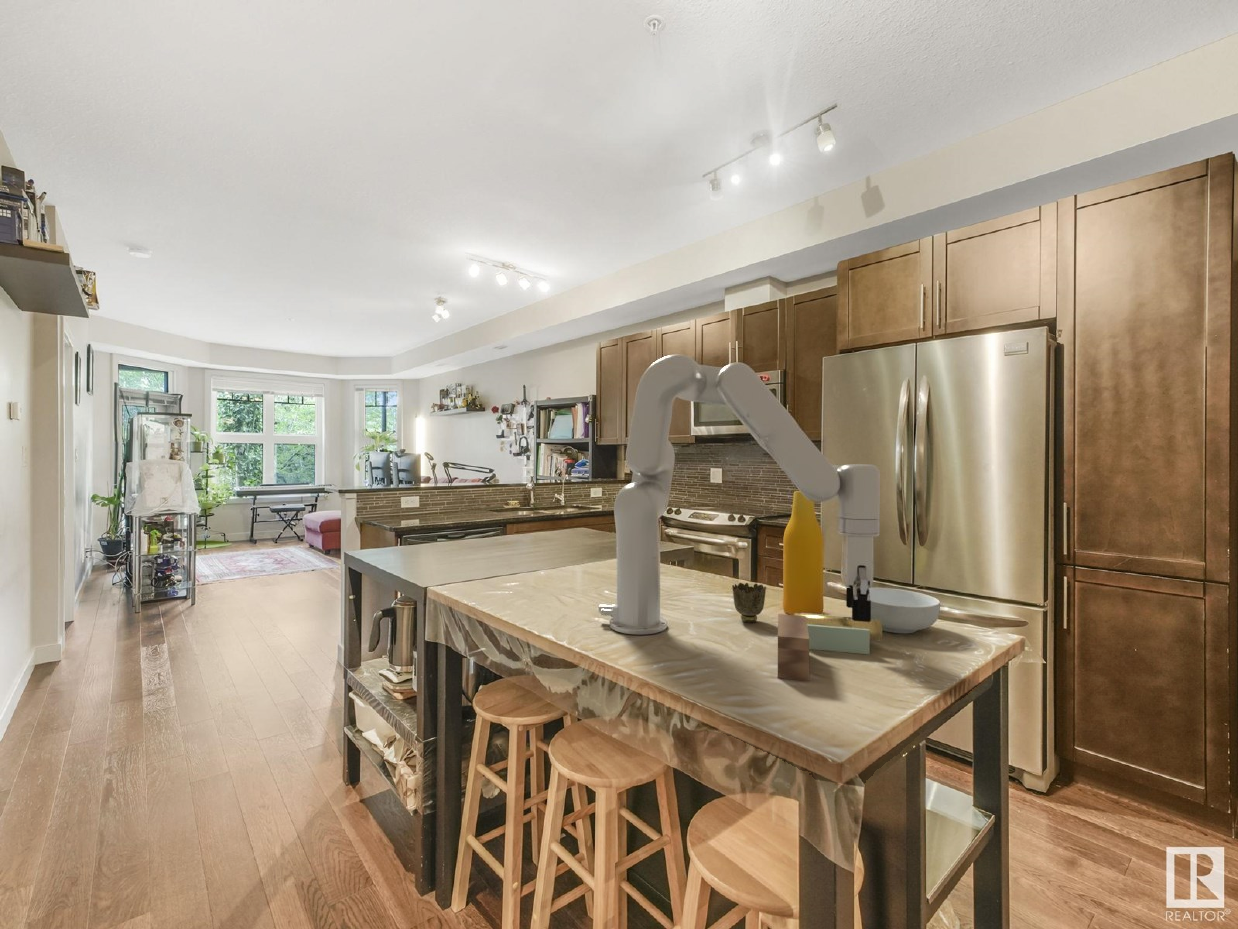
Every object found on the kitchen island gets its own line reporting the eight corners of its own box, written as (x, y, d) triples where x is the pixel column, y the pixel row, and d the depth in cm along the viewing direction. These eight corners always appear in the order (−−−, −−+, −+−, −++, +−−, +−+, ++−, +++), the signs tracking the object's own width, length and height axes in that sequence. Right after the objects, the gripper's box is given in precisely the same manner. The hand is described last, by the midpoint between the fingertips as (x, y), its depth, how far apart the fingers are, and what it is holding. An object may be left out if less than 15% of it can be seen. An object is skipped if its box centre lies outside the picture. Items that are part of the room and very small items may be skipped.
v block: (802, 648, 109) (802, 625, 109) (800, 634, 117) (800, 612, 117) (869, 654, 105) (869, 630, 105) (862, 639, 114) (862, 617, 114)
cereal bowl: (912, 646, 110) (912, 610, 110) (838, 625, 124) (838, 593, 124) (955, 631, 120) (955, 598, 119) (882, 613, 133) (882, 583, 133)
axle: (794, 636, 112) (794, 617, 111) (794, 628, 116) (794, 610, 115) (881, 644, 107) (882, 624, 107) (878, 635, 111) (879, 616, 111)
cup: (729, 623, 125) (729, 588, 125) (735, 615, 131) (735, 581, 131) (763, 627, 122) (763, 591, 122) (768, 618, 129) (768, 584, 129)
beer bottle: (811, 606, 139) (812, 490, 139) (831, 617, 130) (831, 492, 130) (776, 608, 138) (776, 490, 137) (793, 618, 129) (793, 492, 128)
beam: (777, 677, 94) (777, 636, 94) (778, 650, 108) (778, 614, 107) (808, 681, 93) (809, 639, 93) (805, 652, 106) (805, 616, 106)
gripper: (834, 521, 119) (833, 601, 119) (842, 532, 103) (841, 625, 103) (872, 522, 117) (871, 604, 117) (887, 533, 100) (886, 628, 101)
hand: (857, 614), depth 110 cm, fingers open, 9 cm apart
